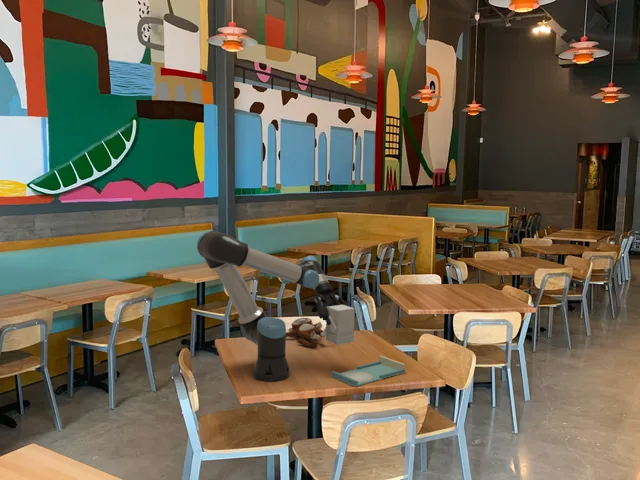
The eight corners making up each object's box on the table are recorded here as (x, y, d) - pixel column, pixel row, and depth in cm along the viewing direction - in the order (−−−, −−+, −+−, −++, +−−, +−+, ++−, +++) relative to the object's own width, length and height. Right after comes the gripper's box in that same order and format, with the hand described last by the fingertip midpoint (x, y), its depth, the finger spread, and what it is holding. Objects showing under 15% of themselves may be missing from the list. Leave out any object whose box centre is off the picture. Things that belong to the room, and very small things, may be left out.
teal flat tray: (355, 387, 226) (355, 377, 225) (331, 376, 237) (331, 367, 237) (405, 372, 243) (405, 364, 243) (380, 363, 255) (381, 355, 254)
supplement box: (341, 337, 252) (342, 304, 250) (354, 342, 245) (355, 308, 243) (324, 340, 247) (325, 306, 245) (337, 345, 239) (338, 310, 238)
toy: (302, 335, 271) (270, 323, 295) (306, 356, 273) (273, 342, 297) (339, 321, 283) (305, 311, 307) (341, 341, 285) (307, 329, 309)
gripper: (336, 289, 263) (358, 330, 252) (298, 293, 250) (319, 337, 239) (344, 279, 258) (366, 321, 248) (305, 283, 245) (327, 327, 234)
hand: (343, 329), depth 243 cm, fingers closed on supplement box, 9 cm apart
